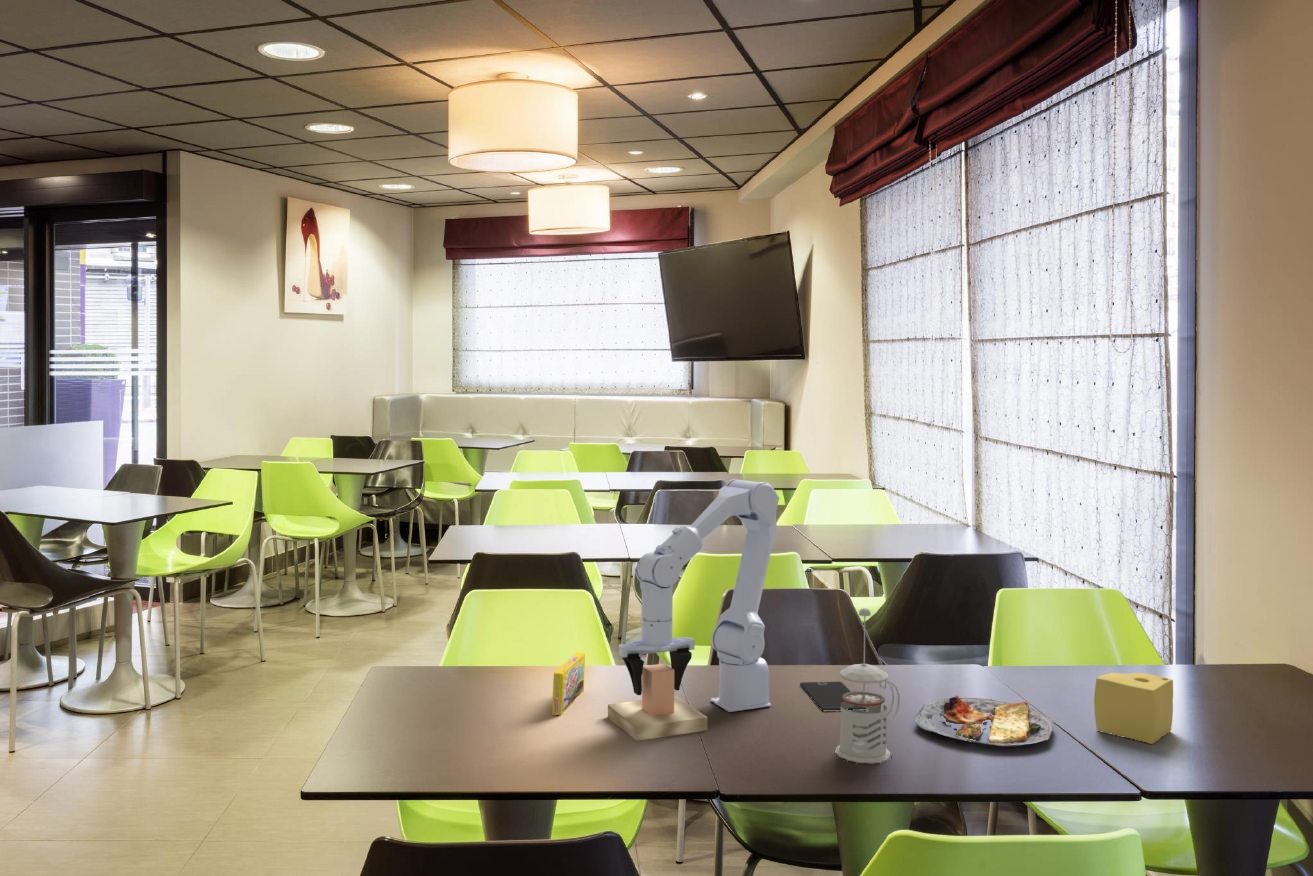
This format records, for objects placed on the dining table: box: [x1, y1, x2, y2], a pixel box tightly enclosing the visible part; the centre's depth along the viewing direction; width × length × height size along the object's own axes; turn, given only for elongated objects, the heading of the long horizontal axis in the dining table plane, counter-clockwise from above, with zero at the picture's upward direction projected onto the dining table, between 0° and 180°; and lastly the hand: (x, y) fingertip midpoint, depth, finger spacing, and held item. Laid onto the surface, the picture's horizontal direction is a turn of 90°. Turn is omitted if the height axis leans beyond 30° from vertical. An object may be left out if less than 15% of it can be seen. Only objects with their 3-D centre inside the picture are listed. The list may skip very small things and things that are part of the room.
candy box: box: [551, 651, 586, 716], centre depth 200 cm, size 16×2×8 cm, turn 168°
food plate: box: [914, 694, 1055, 748], centre depth 186 cm, size 25×23×4 cm
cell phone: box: [799, 681, 866, 711], centre depth 204 cm, size 9×18×1 cm, turn 6°
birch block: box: [607, 695, 708, 742], centre depth 188 cm, size 14×14×3 cm
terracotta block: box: [641, 663, 675, 716], centre depth 188 cm, size 4×4×8 cm
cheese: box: [1093, 672, 1174, 745], centre depth 184 cm, size 10×11×10 cm
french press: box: [835, 607, 901, 762], centre depth 172 cm, size 10×12×25 cm
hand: (656, 691), depth 188 cm, fingers open, 7 cm apart
